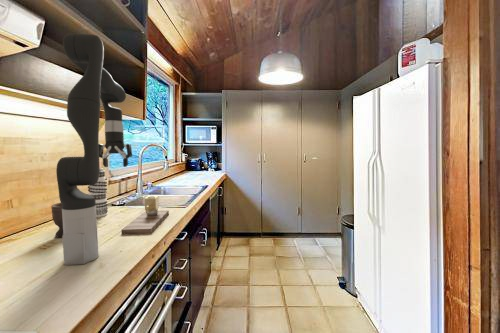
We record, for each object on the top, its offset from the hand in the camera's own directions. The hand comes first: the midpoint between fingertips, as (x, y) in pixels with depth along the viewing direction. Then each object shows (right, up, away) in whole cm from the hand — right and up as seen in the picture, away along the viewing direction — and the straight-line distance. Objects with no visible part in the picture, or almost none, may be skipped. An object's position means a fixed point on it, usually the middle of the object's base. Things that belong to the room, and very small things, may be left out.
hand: (115, 166), depth 124 cm
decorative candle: (-19, -26, +20) cm, 38 cm away
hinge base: (+13, -27, +4) cm, 30 cm away
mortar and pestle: (-13, -29, -12) cm, 34 cm away
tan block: (+13, -21, +8) cm, 26 cm away
